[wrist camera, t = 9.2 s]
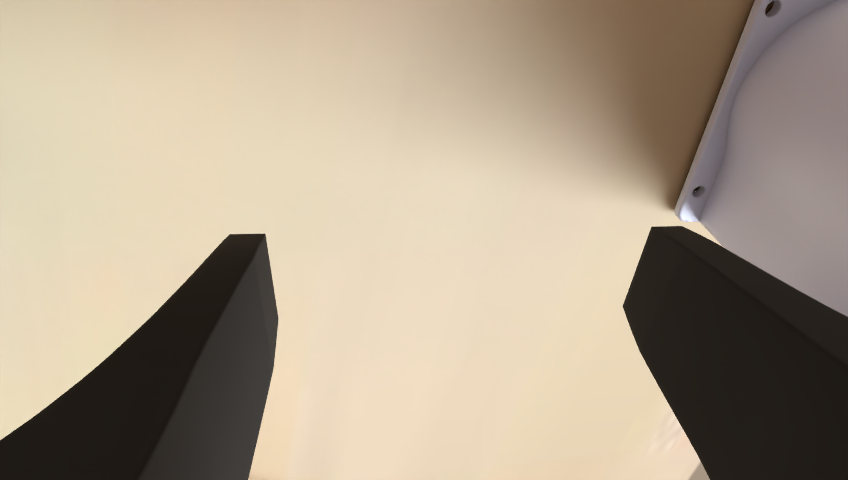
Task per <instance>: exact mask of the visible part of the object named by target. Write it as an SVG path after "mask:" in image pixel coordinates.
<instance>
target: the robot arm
mask: <svg viewBox="0 0 848 480" xmlns="http://www.w3.org/2000/svg"><path fill="white" fill-rule="evenodd" d="M772 1H774V4H773V7H772V9H771V10H770V11H769V12H768V13H766V14H765V10H766V7H767V6H768V4H769V3H770V2H772ZM699 186H700V187H699ZM697 187H699V189H698V190H697V191H695V192H693V190H694V189H695V188H697ZM675 215H676V216H677V217H678V218H679V219H680V220H681V221H685V222H696V221H700V223H701V224H702V225H703V226H704V227H705V228H706V229H707V230H708V231H709V232H710V233H711V234H712V235H713V236H714V237H715V238H716V240H717V241H718V242H719V243H720V244H721V245H722V246H723V247H724V248H723V247H722V246H720V245H718V244H716V243H714V242H713V241H711V240H709V239H707V238H705V237H703V236H701V235H699V234H697V233H695V232H693V231H691V230H689V229H687V228H685V227H682V226H667V227H651V230H650V233H649V235H648V238H647V241H646V244H645V246H644V249H643V252H642V255H641V258H640V260H639V263H638V266H637V269H636V271H635V274H634V277H633V280H632V282H631V285H630V288H629V291H628V293H627V296H626V299H625V302H624V304H623V308H624V311H625V314H626V317H627V320H628V322H629V325H630V328H631V331H632V333H633V336H634V338H635V341H636V343H637V345H638V348H639V350H640V352H641V354H642V356H643V358H644V360H645V362H646V364H647V366H648V367H649V369H650V371H651V373H652V375H653V376H654V378H655V380H656V382H657V384H658V386H659V387H660V389H661V391H662V393H663V394H664V396H665V398H666V400H667V402H668V403H669V405H670V407H671V409H672V410H673V412H674V414H675V416H676V417H677V419H678V421H679V423H680V425H681V426H682V428H683V430H684V432H685V433H686V435H687V437H688V439H689V440H690V442H691V444H692V446H693V448H694V449H695V451H696V453H697V455H698V457H699V459H700V461H701V462H702V464H703V466H704V468H705V470H706V472H707V474H708V476H709V478H710V480H848V0H755V2H754V4H753V7H752V9H751V12H750V15H749V17H748V20H747V22H746V25H745V28H744V30H743V33H742V35H741V38H740V41H739V43H738V46H737V48H736V51H735V54H734V56H733V59H732V61H731V64H730V67H729V69H728V72H727V74H726V77H725V80H724V82H723V85H722V87H721V90H720V93H719V95H718V98H717V100H716V103H715V106H714V108H713V111H712V113H711V116H710V119H709V121H708V124H707V126H706V129H705V132H704V134H703V137H702V139H701V142H700V145H699V147H698V150H697V152H696V155H695V158H694V160H693V163H692V165H691V168H690V171H689V173H688V176H687V178H686V181H685V184H684V186H683V189H682V191H681V194H680V197H679V199H678V202H677V204H676V207H675ZM277 327H278V314H277V307H276V300H275V294H274V287H273V281H272V274H271V268H270V261H269V255H268V248H267V242H266V235H265V234H230V235H229V236H228V237H227V238H226V239H225V240H224V241H223V242H222V243H221V244H220V245H219V246H218V247H217V248H216V249H215V250H214V251H213V252H212V253H211V254H210V256H209V257H208V258H207V259H206V260H205V261H204V262H203V263H202V264H201V265H200V267H199V268H198V269H197V270H196V271H195V272H194V273H193V274H192V275H191V276H190V277H189V278H188V279H187V281H186V282H185V283H184V284H183V285H182V286H181V287H180V288H179V289H178V290H177V291H176V292H175V293H174V294H173V295H172V296H171V297H170V298H169V299H168V300H167V301H166V302H165V303H164V304H163V305H162V306H161V307H160V308H159V309H158V311H157V312H156V313H155V314H154V315H153V316H152V317H151V318H149V319H148V320H147V321H146V322H145V323H144V324H143V325H142V326H141V327H140V328H139V329H138V330H137V331H136V332H135V333H134V334H132V335H131V336H130V337H129V338H128V339H127V340H126V341H125V342H124V343H123V344H122V345H121V346H120V347H118V348H117V349H116V350H115V351H114V352H113V353H112V354H111V355H110V356H109V357H108V358H106V359H105V360H104V361H103V362H102V363H101V364H100V365H98V366H97V367H96V368H95V369H94V370H93V371H91V372H90V373H89V374H88V375H87V376H85V377H84V378H83V379H82V380H80V381H79V382H78V383H77V384H75V385H74V386H73V387H72V388H70V389H69V390H68V391H67V392H65V393H64V394H63V395H61V396H60V397H59V398H58V399H56V400H55V401H54V402H53V403H51V404H50V405H49V406H48V407H46V408H45V409H44V410H42V411H41V412H40V413H38V414H37V415H36V416H34V417H33V418H32V419H30V420H29V421H27V422H26V423H24V424H23V425H22V426H20V427H19V428H17V429H16V430H14V431H13V432H12V433H10V434H9V435H7V436H6V437H5V438H3V439H2V440H0V480H248V478H249V473H250V469H251V465H252V460H253V456H254V452H255V447H256V443H257V439H258V434H259V430H260V425H261V421H262V417H263V412H264V408H265V404H266V399H267V395H268V390H269V386H270V381H271V377H272V372H273V367H274V358H275V348H276V338H277Z"/></svg>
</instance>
